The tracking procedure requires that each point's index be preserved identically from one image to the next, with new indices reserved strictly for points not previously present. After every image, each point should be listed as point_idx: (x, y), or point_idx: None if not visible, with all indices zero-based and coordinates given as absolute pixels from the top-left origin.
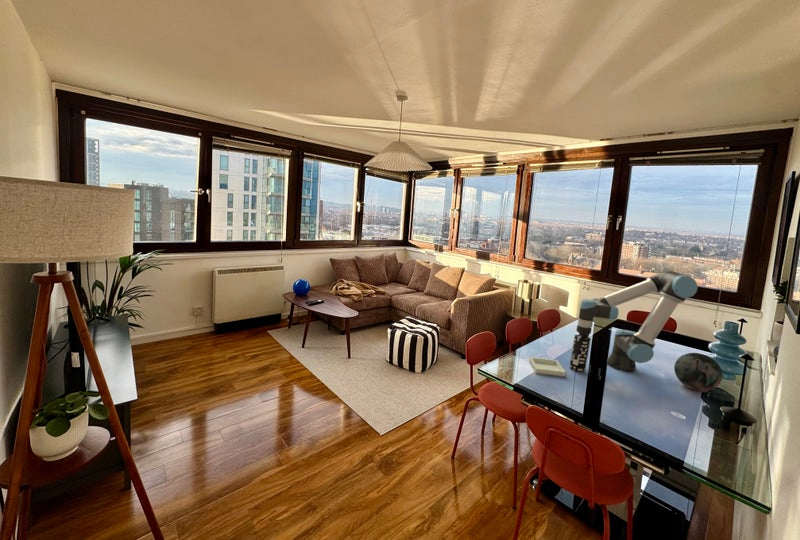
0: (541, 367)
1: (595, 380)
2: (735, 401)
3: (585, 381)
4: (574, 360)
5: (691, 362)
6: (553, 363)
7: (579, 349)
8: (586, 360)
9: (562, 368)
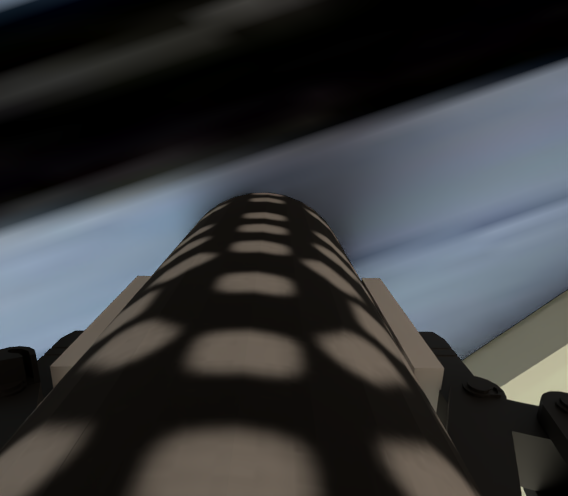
0: None
1: (402, 12)
2: None
3: (530, 89)
4: None
5: None
6: None
7: (515, 488)
8: (255, 225)
9: (551, 362)
